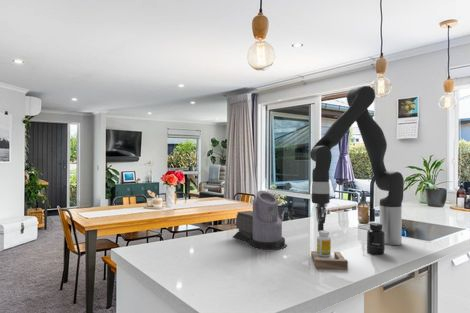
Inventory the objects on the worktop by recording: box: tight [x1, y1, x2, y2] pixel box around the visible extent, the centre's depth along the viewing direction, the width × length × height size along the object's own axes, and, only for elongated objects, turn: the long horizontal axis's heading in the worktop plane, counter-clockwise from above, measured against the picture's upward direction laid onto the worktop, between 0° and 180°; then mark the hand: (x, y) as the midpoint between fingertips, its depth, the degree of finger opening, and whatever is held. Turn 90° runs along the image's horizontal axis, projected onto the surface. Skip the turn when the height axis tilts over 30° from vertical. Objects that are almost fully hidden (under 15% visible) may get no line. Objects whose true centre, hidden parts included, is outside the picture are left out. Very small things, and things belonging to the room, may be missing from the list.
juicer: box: [232, 190, 289, 251], centre depth 152 cm, size 30×16×24 cm, turn 33°
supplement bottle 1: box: [316, 230, 332, 258], centre depth 132 cm, size 5×5×10 cm
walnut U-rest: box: [310, 250, 349, 271], centre depth 121 cm, size 13×11×3 cm
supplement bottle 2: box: [366, 222, 386, 256], centre depth 134 cm, size 7×7×12 cm
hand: (320, 232), depth 139 cm, fingers closed
